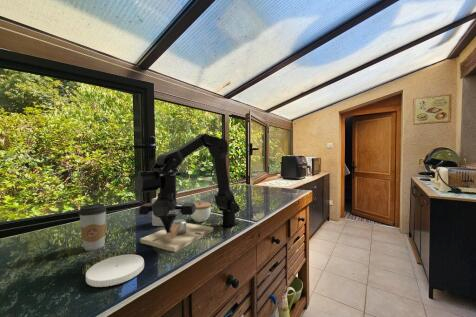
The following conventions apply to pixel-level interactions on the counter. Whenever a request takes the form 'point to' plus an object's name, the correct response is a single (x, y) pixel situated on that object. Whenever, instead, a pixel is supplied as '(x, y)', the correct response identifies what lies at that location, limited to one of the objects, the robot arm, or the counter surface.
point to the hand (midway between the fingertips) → (168, 232)
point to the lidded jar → (201, 211)
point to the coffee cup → (93, 226)
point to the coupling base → (180, 241)
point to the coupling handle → (177, 228)
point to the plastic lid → (114, 270)
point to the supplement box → (156, 220)
